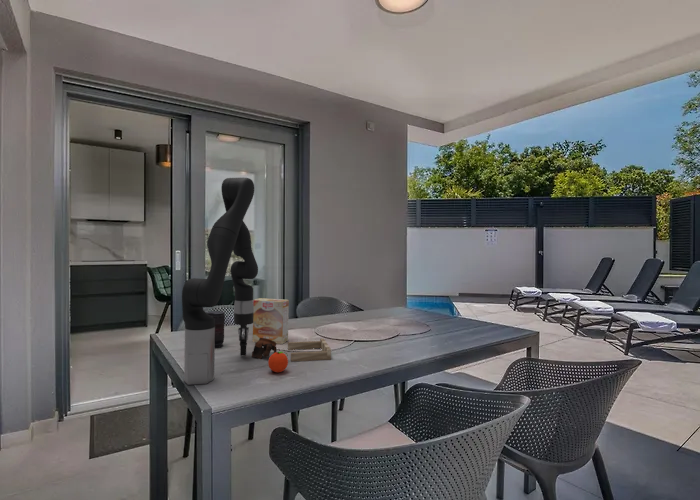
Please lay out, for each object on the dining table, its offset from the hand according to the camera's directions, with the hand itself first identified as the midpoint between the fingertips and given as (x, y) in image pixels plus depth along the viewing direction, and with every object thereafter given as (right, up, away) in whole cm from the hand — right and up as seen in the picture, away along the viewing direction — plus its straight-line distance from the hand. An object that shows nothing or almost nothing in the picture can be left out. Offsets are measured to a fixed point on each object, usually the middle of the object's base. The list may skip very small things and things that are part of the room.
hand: (243, 354), depth 154 cm
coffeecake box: (+6, -1, +26) cm, 26 cm away
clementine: (+17, -2, -17) cm, 24 cm away
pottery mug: (+8, -1, +2) cm, 8 cm away
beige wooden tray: (+25, -1, +5) cm, 25 cm away
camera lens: (-17, -1, +15) cm, 23 cm away
